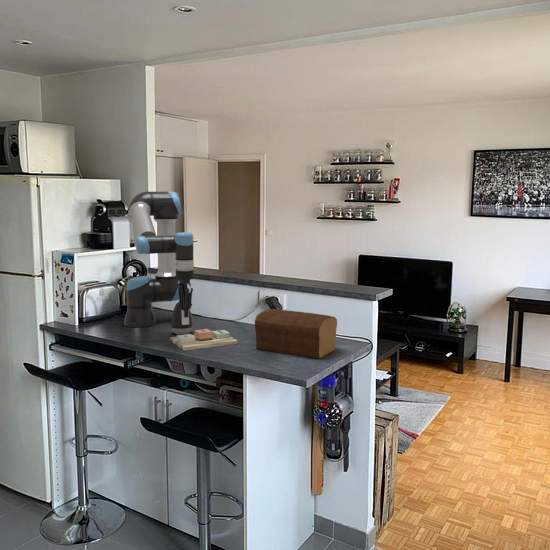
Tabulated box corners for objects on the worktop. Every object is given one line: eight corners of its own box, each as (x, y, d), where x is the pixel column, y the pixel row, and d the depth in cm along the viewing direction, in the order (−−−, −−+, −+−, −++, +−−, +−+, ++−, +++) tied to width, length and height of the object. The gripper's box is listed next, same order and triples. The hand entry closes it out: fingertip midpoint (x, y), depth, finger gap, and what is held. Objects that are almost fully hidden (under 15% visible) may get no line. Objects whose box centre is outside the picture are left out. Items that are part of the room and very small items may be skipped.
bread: (318, 360, 225) (319, 320, 222) (253, 350, 240) (253, 311, 237) (337, 349, 240) (338, 311, 238) (275, 340, 255) (275, 304, 253)
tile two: (194, 336, 252) (194, 330, 251) (207, 334, 255) (207, 328, 254) (199, 339, 247) (199, 333, 246) (212, 337, 249) (212, 331, 249)
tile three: (211, 337, 256) (211, 331, 255) (224, 335, 259) (224, 329, 258) (216, 340, 250) (216, 334, 250) (229, 338, 253) (229, 332, 253)
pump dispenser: (187, 337, 260) (186, 303, 257) (166, 335, 263) (166, 302, 261) (197, 332, 269) (197, 299, 267) (177, 330, 272) (177, 298, 270)
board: (170, 340, 253) (170, 337, 253) (221, 334, 264) (220, 331, 264) (184, 350, 237) (184, 347, 237) (237, 343, 249) (237, 340, 248)
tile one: (177, 341, 248) (176, 335, 248) (190, 340, 251) (190, 333, 251) (181, 344, 243) (181, 338, 243) (195, 343, 246) (195, 336, 245)
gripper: (171, 267, 246) (172, 321, 250) (181, 272, 235) (182, 328, 239) (187, 266, 250) (188, 319, 254) (198, 271, 239) (199, 326, 242)
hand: (185, 324), depth 246 cm, fingers closed
